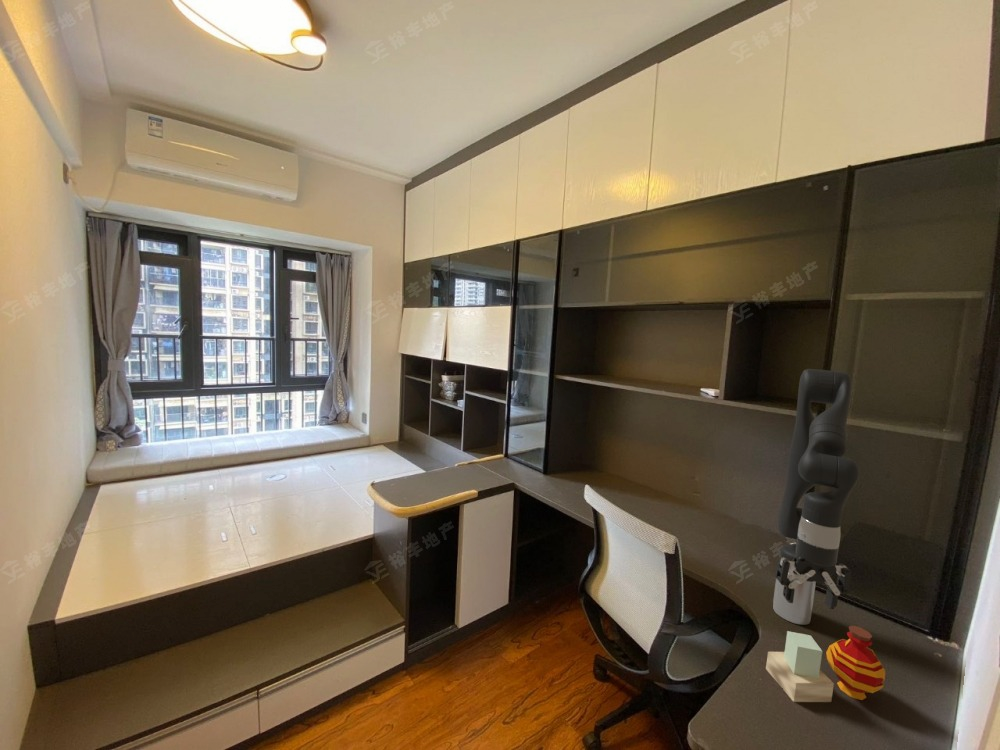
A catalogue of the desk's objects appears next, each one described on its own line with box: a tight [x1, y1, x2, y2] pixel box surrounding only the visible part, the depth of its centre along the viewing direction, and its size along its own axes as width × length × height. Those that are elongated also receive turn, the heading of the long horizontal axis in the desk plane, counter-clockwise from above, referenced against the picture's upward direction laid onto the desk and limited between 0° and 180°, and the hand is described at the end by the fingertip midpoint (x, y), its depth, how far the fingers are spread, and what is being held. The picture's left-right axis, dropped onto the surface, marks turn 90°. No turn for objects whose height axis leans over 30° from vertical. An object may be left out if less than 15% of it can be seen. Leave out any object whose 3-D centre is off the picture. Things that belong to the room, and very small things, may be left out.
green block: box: [783, 630, 823, 679], centre depth 94 cm, size 5×5×7 cm
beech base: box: [765, 651, 835, 703], centre depth 95 cm, size 9×9×5 cm
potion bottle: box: [826, 625, 886, 701], centre depth 94 cm, size 10×10×15 cm
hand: (808, 603), depth 93 cm, fingers open, 8 cm apart
